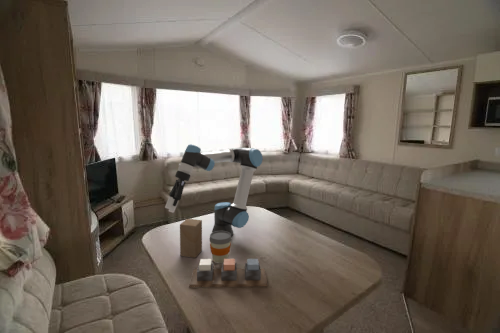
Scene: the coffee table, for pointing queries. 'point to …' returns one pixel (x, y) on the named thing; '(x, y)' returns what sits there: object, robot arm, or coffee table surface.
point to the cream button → (205, 265)
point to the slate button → (252, 264)
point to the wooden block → (190, 238)
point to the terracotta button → (229, 264)
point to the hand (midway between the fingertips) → (169, 210)
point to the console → (228, 277)
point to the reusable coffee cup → (220, 245)
